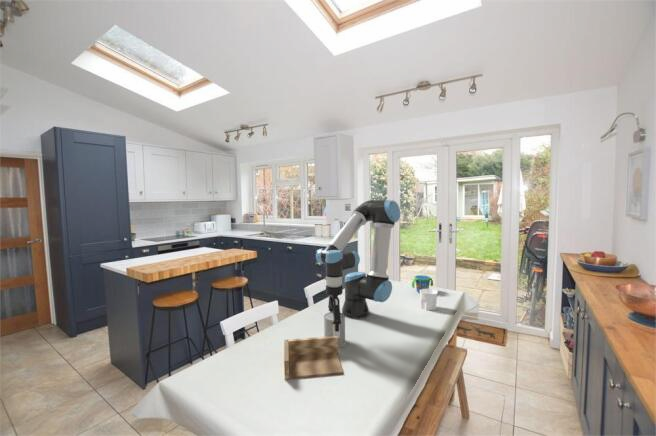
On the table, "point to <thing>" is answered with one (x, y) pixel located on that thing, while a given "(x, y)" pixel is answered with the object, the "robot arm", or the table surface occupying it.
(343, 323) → the beer can
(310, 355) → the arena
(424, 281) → the snack cup
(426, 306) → the cup
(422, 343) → the table surface
